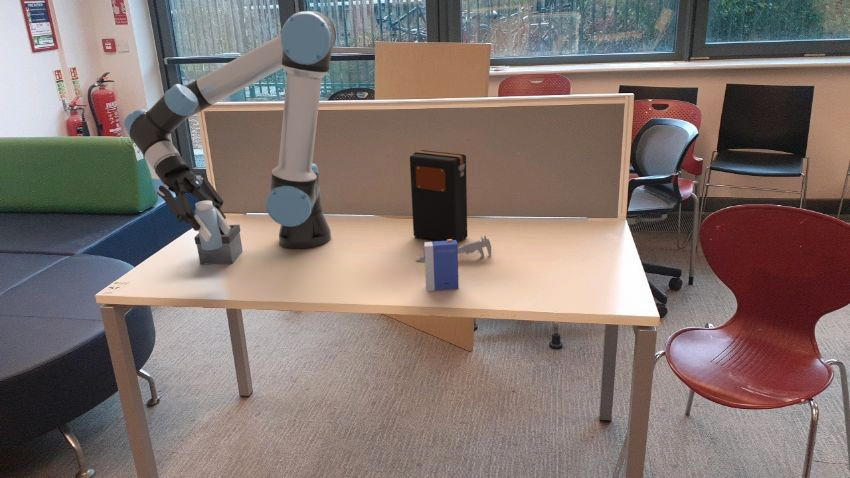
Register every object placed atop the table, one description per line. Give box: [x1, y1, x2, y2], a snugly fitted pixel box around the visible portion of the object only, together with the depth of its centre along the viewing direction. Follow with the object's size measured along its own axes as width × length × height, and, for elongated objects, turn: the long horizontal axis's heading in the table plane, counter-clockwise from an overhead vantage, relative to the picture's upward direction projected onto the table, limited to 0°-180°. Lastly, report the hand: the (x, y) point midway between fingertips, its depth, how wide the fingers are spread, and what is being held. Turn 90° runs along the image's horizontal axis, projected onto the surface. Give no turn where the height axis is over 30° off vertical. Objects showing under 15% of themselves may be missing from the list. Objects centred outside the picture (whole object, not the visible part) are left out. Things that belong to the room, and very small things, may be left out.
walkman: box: [423, 239, 459, 292], centre depth 151 cm, size 8×3×12 cm, turn 95°
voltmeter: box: [409, 149, 468, 243], centre depth 180 cm, size 16×9×25 cm, turn 58°
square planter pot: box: [193, 224, 243, 265], centre depth 175 cm, size 9×9×8 cm
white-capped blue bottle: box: [194, 200, 222, 250], centre depth 158 cm, size 5×5×12 cm
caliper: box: [415, 235, 492, 263], centre depth 169 cm, size 20×1×6 cm, turn 94°
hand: (218, 234), depth 156 cm, fingers closed on white-capped blue bottle, 5 cm apart
